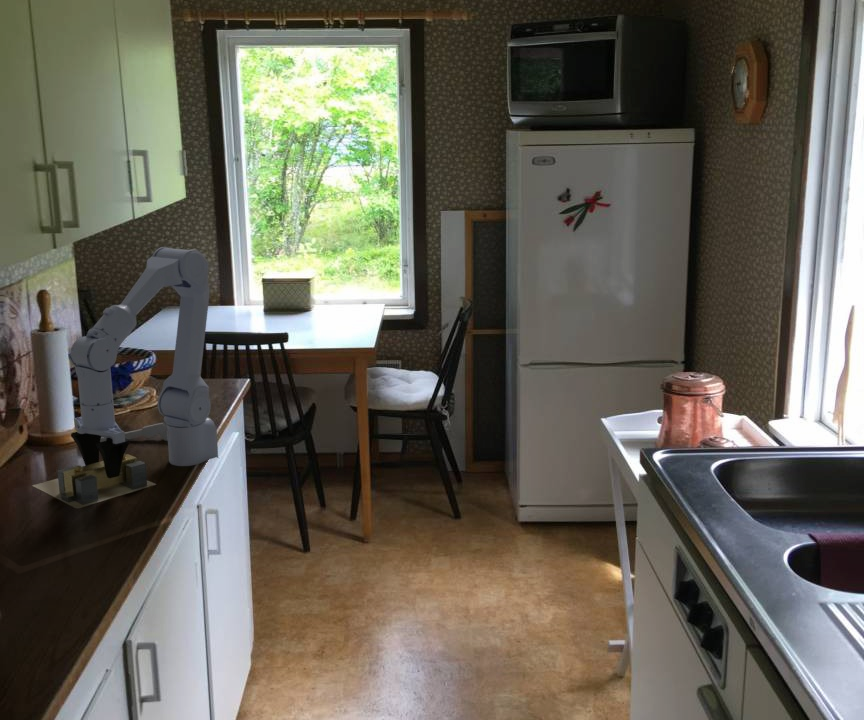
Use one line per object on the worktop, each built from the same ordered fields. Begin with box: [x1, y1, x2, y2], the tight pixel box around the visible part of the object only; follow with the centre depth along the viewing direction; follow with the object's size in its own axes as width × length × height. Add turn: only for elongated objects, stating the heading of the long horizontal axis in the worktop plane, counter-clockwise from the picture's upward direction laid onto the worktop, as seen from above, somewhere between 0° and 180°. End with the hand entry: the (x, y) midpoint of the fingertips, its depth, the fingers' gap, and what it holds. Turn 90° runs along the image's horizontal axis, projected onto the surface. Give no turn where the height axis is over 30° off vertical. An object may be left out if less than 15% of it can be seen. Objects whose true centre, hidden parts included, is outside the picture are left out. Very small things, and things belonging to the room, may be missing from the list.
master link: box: [63, 453, 138, 496], centre depth 169 cm, size 13×3×5 cm, turn 139°
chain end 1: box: [56, 465, 98, 505], centre depth 165 cm, size 4×8×4 cm, turn 49°
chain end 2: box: [119, 460, 148, 490], centre depth 173 cm, size 4×8×4 cm, turn 49°
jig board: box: [31, 478, 157, 510], centre depth 172 cm, size 16×17×1 cm
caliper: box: [100, 418, 168, 442], centre depth 198 cm, size 20×1×6 cm, turn 97°
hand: (102, 471), depth 169 cm, fingers open, 7 cm apart
